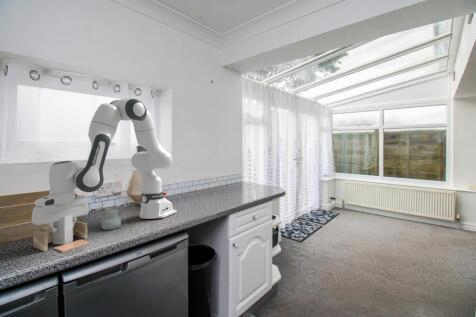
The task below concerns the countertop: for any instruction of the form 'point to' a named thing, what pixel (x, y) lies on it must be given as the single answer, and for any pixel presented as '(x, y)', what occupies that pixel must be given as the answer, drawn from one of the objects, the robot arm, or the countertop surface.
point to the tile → (71, 245)
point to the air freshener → (111, 219)
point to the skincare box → (63, 230)
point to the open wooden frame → (46, 236)
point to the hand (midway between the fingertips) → (62, 229)
